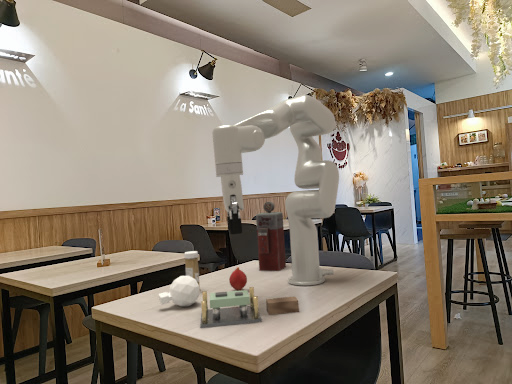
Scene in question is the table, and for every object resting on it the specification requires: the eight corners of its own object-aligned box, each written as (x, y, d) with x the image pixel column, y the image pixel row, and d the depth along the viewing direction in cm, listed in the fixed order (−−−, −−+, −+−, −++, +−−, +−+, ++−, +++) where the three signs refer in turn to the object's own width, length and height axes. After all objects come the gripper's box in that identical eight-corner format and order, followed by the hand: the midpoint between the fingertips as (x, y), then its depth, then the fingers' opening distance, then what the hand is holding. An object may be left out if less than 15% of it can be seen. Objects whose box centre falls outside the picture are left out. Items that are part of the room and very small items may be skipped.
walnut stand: (295, 307, 105) (295, 296, 105) (298, 311, 101) (298, 300, 101) (266, 310, 104) (266, 299, 104) (268, 314, 100) (268, 303, 100)
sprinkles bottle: (202, 291, 129) (200, 251, 129) (189, 294, 126) (187, 253, 126) (196, 289, 132) (194, 250, 133) (184, 291, 130) (182, 252, 130)
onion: (226, 292, 126) (224, 267, 126) (238, 288, 130) (237, 264, 130) (238, 294, 122) (237, 269, 122) (251, 290, 126) (249, 266, 126)
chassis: (256, 307, 107) (254, 286, 107) (261, 321, 95) (260, 297, 95) (201, 313, 105) (200, 291, 105) (200, 327, 93) (198, 303, 93)
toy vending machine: (257, 271, 156) (252, 203, 156) (266, 266, 166) (262, 201, 167) (278, 272, 153) (273, 201, 153) (286, 266, 163) (282, 200, 163)
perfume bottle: (194, 292, 120) (157, 304, 115) (192, 266, 117) (154, 277, 112) (205, 306, 113) (166, 320, 108) (203, 279, 110) (163, 292, 105)
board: (247, 297, 104) (246, 287, 104) (249, 304, 97) (249, 294, 97) (210, 300, 103) (209, 290, 103) (210, 308, 96) (209, 297, 96)
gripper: (246, 168, 99) (251, 234, 99) (239, 170, 116) (245, 226, 116) (216, 170, 98) (222, 237, 98) (215, 172, 115) (220, 229, 115)
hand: (234, 231), depth 107 cm, fingers open, 9 cm apart
